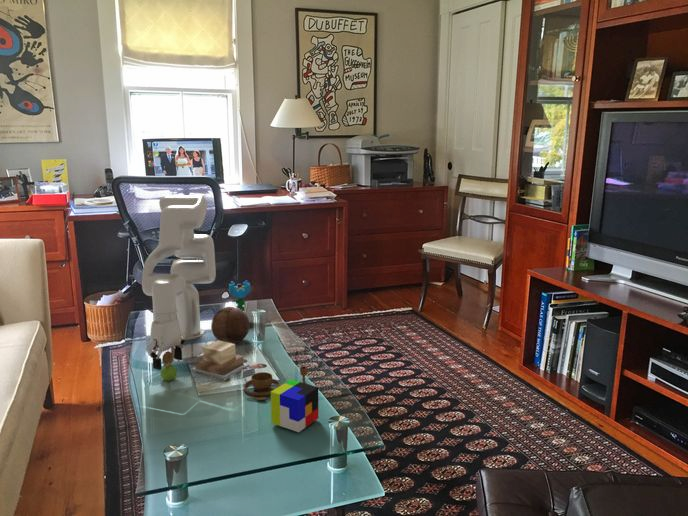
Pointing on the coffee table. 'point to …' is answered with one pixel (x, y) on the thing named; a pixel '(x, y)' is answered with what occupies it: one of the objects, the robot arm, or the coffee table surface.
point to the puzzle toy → (294, 405)
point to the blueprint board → (223, 375)
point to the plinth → (220, 367)
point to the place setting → (266, 383)
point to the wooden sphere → (230, 325)
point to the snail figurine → (168, 366)
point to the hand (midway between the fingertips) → (168, 364)
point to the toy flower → (239, 292)
